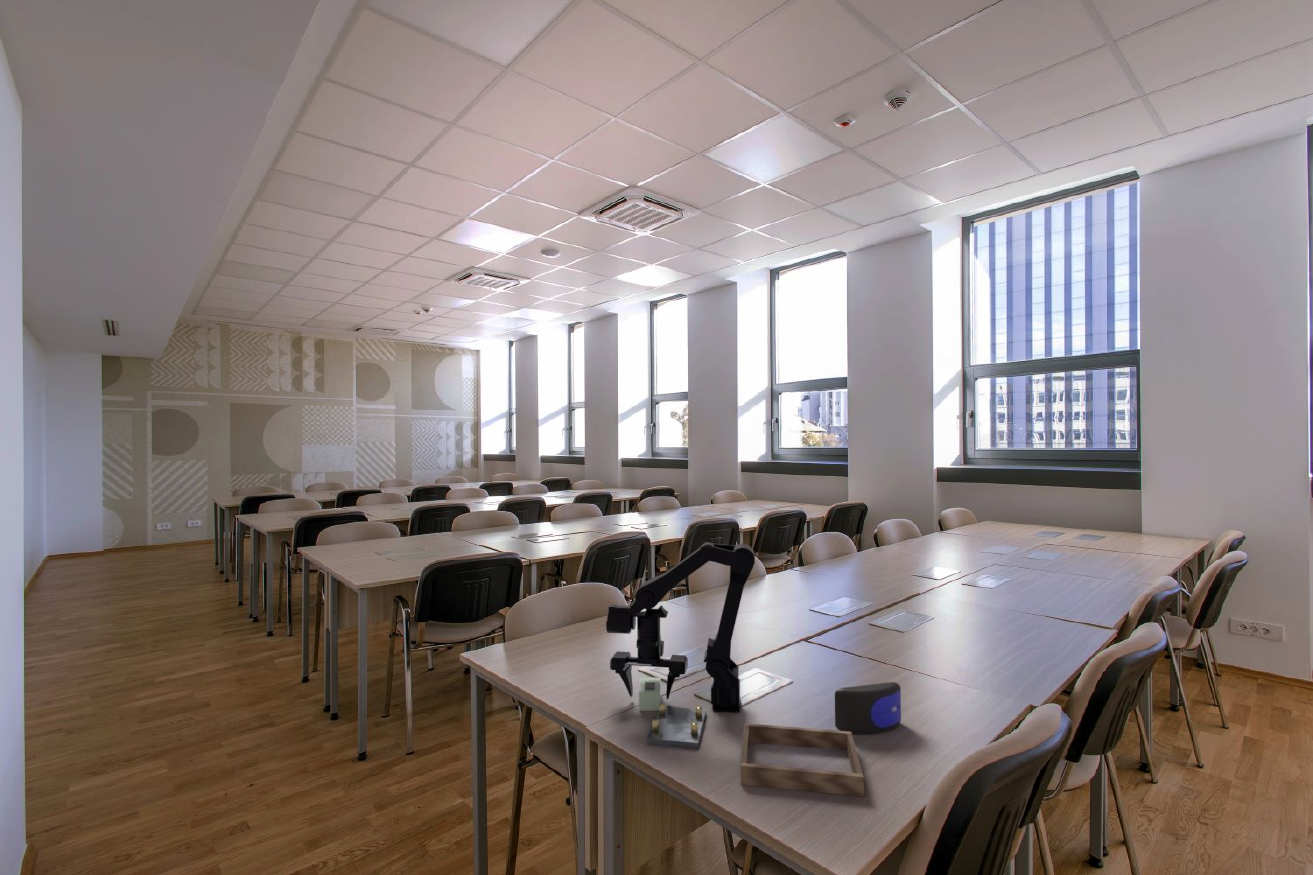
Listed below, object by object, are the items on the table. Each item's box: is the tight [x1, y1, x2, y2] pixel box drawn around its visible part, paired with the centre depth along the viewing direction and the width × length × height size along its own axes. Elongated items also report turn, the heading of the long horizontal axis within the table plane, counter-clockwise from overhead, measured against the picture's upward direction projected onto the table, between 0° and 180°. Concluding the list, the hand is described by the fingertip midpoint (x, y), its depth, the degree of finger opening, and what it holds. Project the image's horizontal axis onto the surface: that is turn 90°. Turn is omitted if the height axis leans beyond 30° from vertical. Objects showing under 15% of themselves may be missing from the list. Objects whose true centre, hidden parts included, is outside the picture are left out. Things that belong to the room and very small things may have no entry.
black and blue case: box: [834, 681, 902, 735], centre depth 131 cm, size 16×5×9 cm, turn 103°
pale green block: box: [638, 677, 662, 712], centre depth 146 cm, size 5×9×5 cm, turn 179°
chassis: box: [645, 702, 707, 749], centre depth 132 cm, size 11×16×3 cm
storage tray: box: [740, 722, 865, 797], centre depth 116 cm, size 22×17×4 cm
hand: (649, 697), depth 146 cm, fingers open, 9 cm apart
